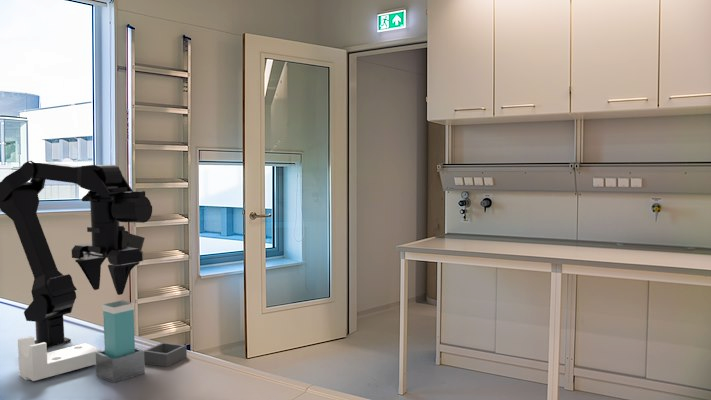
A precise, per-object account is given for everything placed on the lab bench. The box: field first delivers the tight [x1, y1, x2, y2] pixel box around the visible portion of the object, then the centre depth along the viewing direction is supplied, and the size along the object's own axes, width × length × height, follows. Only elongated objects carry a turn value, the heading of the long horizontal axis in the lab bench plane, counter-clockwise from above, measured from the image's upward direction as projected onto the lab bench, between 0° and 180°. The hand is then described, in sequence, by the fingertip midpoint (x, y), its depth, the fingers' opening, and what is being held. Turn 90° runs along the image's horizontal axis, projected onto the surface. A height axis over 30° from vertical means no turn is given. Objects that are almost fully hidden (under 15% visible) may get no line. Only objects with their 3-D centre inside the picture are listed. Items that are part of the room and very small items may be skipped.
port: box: [95, 346, 146, 384], centre depth 111 cm, size 6×6×4 cm
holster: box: [144, 341, 188, 368], centre depth 119 cm, size 6×6×2 cm
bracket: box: [17, 335, 102, 382], centre depth 113 cm, size 13×7×8 cm, turn 139°
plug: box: [101, 300, 136, 358], centre depth 111 cm, size 4×4×13 cm
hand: (108, 292), depth 125 cm, fingers open, 9 cm apart
